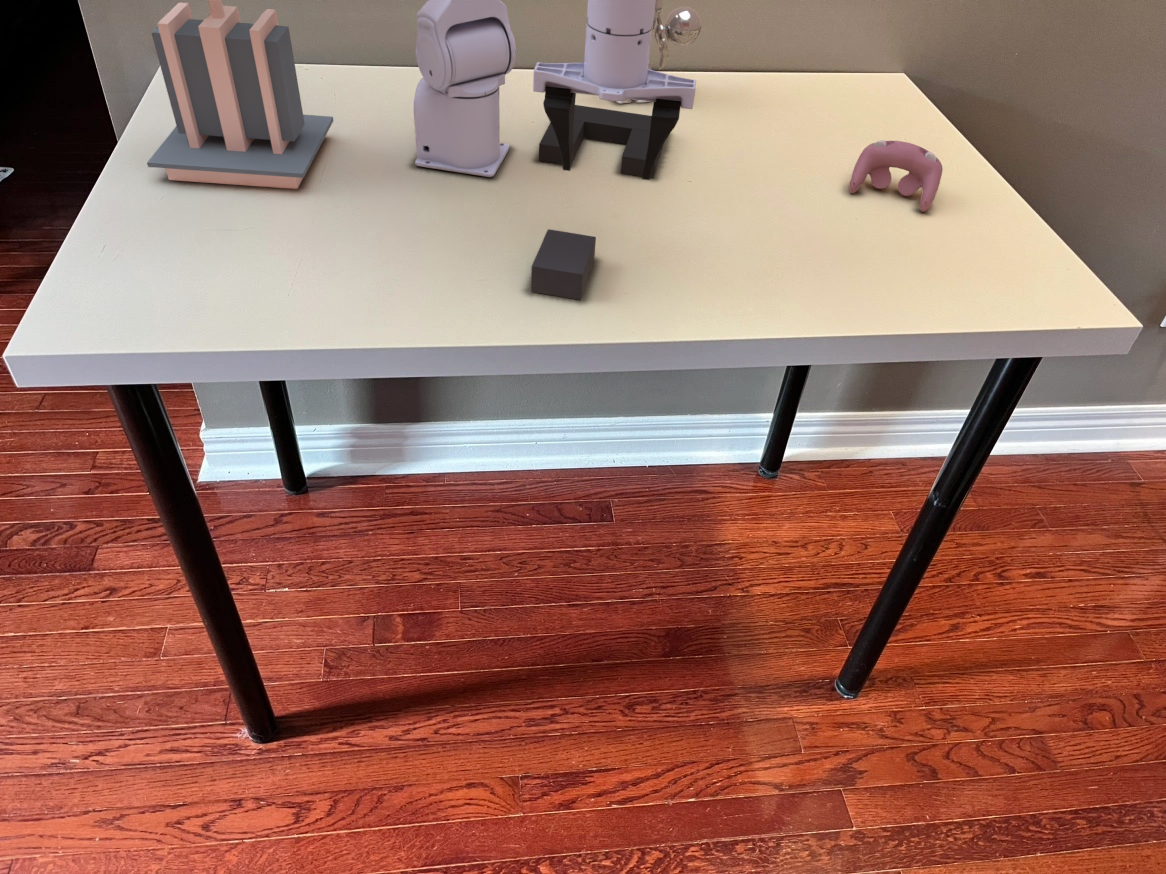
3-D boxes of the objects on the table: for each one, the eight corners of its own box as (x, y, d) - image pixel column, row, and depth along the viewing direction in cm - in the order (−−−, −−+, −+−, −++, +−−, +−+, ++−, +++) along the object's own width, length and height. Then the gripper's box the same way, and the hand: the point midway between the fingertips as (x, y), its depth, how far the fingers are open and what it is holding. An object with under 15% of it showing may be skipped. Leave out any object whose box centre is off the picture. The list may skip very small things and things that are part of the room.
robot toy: (682, 82, 125) (698, -32, 114) (697, 101, 121) (715, -16, 110) (582, 87, 122) (589, -30, 111) (594, 107, 117) (602, -14, 107)
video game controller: (928, 213, 105) (950, 154, 103) (929, 213, 101) (952, 151, 99) (847, 192, 108) (867, 133, 106) (844, 191, 104) (865, 130, 102)
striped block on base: (342, 137, 107) (298, -188, 84) (313, 195, 97) (255, -157, 74) (190, 126, 107) (105, -204, 84) (146, 183, 96) (35, -174, 74)
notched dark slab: (538, 161, 106) (539, 143, 104) (559, 119, 114) (560, 102, 113) (653, 178, 104) (655, 161, 103) (666, 134, 113) (668, 118, 111)
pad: (530, 291, 86) (531, 266, 84) (546, 254, 91) (547, 228, 89) (580, 300, 86) (582, 274, 84) (594, 261, 91) (596, 236, 89)
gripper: (528, 31, 73) (526, 181, 83) (702, 50, 72) (679, 199, 82) (541, 3, 78) (538, 147, 88) (704, 20, 78) (683, 163, 87)
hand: (607, 170), depth 85 cm, fingers open, 7 cm apart
